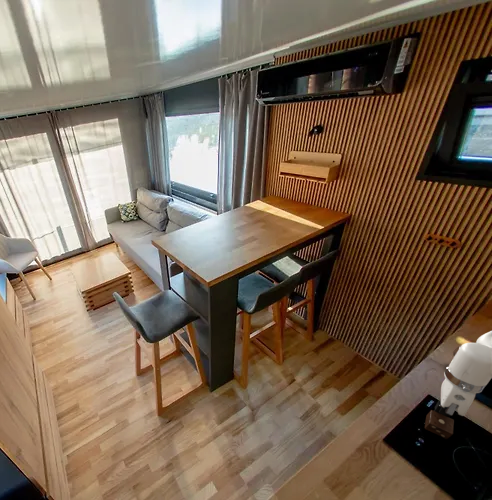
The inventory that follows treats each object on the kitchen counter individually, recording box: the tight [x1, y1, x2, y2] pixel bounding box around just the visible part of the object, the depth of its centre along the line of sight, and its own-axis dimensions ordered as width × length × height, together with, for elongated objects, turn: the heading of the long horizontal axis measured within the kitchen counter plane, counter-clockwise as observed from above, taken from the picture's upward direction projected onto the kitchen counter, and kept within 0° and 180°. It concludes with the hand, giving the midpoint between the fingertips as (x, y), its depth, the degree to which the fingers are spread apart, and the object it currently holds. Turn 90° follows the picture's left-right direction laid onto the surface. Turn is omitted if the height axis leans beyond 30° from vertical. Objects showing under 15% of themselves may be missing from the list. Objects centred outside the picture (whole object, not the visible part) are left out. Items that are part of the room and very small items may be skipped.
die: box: [424, 409, 455, 440], centre depth 84 cm, size 5×5×5 cm
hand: (441, 412), depth 85 cm, fingers closed
